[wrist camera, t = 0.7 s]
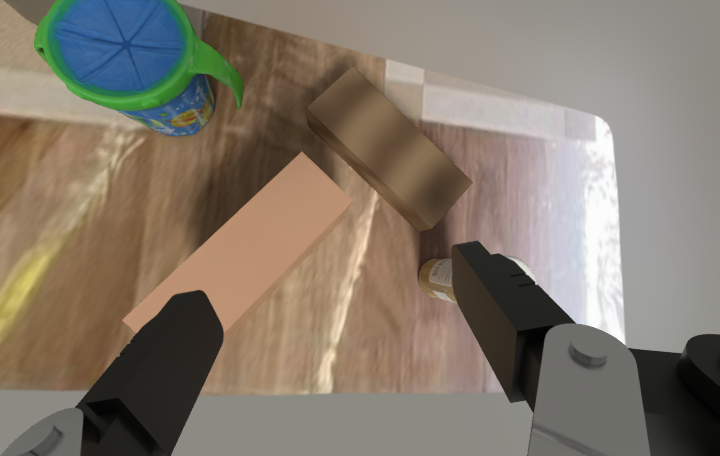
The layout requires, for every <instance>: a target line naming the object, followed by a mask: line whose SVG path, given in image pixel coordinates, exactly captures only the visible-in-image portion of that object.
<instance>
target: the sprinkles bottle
mask: <svg viewBox="0 0 720 456" xmlns="http://www.w3.org/2000/svg"><path fill="white" fill-rule="evenodd" d="M505 257H507V258H509V259H511V260H513V261H515V262H516V263H517V264H518V265H519V266H520V267H521V268H522V269H523V270H524V271H525V272H526V275H529V276H530V277H531V278H532V279H533V280H534V281H535V284H536V285H537V283H536V278H535V276H534V274H533V272H532V270H531V269H530V267H529V266H528V265H527V264H526V263H525V262H523V261H522V260H520V259H518V258H516V257H512V256H505ZM419 284H420V286H421V288H422V290H423V291H424V292H425V293H426V294H428V295H429V296H431V297H434V298H441V299H443V300H447V301H450V302H454V303H457V301H456V298H455V295H454V291H453V281H452V258H450V259H437V258H435V259H431V260H429V261H427V262H426V263H425V264H424V265H423V266H422V268H421V269H420V272H419Z"/></svg>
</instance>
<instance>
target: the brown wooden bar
mask: <svg viewBox="0 0 720 456" xmlns="http://www.w3.org/2000/svg"><path fill="white" fill-rule="evenodd" d="M307 120H308V126H309V127H310V128H311V129H312V130H313V131H314V132H315V133H316V134H317V135H318V136H319V137H320V138H321V139H322V140H323V141H324V142H326V143H327V144H328V145H329V146H330V147H331V148H332V149H333V150H334V151H335V152H336V153H337V154H338V155H339V156H340V157H341V158H342V159H343V160H344V161H345V162H346V163H347V164H348V165H350V166H351V167H352V168H353V169H354V170H355V171H356V172H357V173H358V174H359V175H360V176H361V177H362V178H363V179H364V180H365V181H366V182H367V183H368V184H369V185H370V186H371V187H372V188H374V189H375V190H376V191H377V192H378V193H379V194H380V195H381V196H382V197H383V198H384V199H385V200H386V201H387V202H388V203H389V204H390V205H391V206H392V207H393V208H394V209H395V210H396V211H397V212H399V213H400V214H401V215H402V216H403V217H404V218H405V219H406V220H407V221H408V222H409V223H410V224H411V225H412V226H413V227H414V228H415V229H416V230H417V231H418V232H422V231H426V230H429V229H432V228H433V227H434V226H435V225H436V224H437V223H438V221H439V220H440V219H441V218H442V217H443V216H444V215H445V214H446V212H447V211H448V210H449V209H450V208H451V207H452V206H453V205H454V203H455V202H456V201H457V200H458V199H459V198H460V197H461V196H462V194H463V193H464V192H465V191H466V190H467V189H468V188H469V186H470V185H471V184H472V183H473V182H472V181H471V180H470V179H469V178H468V177H467V176H466V175H465V174H464V173H463V172H462V171H461V170H460V169H459V168H458V167H457V166H456V165H455V164H454V163H453V162H452V161H451V160H450V159H448V158H447V157H446V156H445V155H444V154H443V153H442V152H441V151H440V150H439V149H438V148H437V147H436V146H435V145H434V144H433V143H432V142H431V141H430V140H429V139H428V138H427V137H426V136H425V135H424V134H423V133H422V132H421V131H420V130H419V129H418V128H416V127H415V126H414V125H413V124H412V123H411V122H410V121H409V120H408V119H407V118H406V117H405V116H404V115H403V114H402V113H401V112H400V111H399V110H398V109H397V108H396V107H395V106H394V105H393V104H392V103H391V102H390V101H389V100H388V99H387V98H386V97H384V96H383V95H382V94H381V93H380V92H379V91H378V90H377V89H376V88H375V87H374V86H373V85H372V84H371V83H370V82H369V81H368V80H367V79H366V78H365V77H364V76H363V75H362V74H361V73H360V72H359V71H358V70H357V69H356V68H355V67H354V66H352V67H351V68H350V69H349V70H348V71H347V72H345V73H344V74H343V75H342V76H341V77H340V78H339V79H338V80H337V81H336V82H334V83H333V84H332V85H331V86H330V87H329V88H328V89H327V90H326V91H324V92H323V93H322V94H321V95H320V96H319V97H318V98H317V99H316V100H315V101H313V102H312V103H311V104H310V105H309V106H308V107H307Z"/></svg>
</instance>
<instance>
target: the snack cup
mask: <svg viewBox="0 0 720 456" xmlns="http://www.w3.org/2000/svg"><path fill="white" fill-rule="evenodd" d="M34 48H35V50H36V51H37V52H38V54H39V55H40V56H41V57H42V58H43V59H44V60H45V61H46V62H47V63H48V65H49V66H50V67H51V68H52V70H53V71H54V72H55V74H56V75H57V76H58V77H59V78H60V79H61V80H62V81H63V82H64V83H65V84H66V85H67V88H68V89H69V90H70V91H71V92H73V93H74V94H76V95H77V96H79V97H80V98H82V99H85V100H88V101H92V102H94V103H96V104H98V105H101V106H104V107H107V108H111V109H114V110H117V111H118V112H120V113H122V114H124V115H126V116H127V117H129V118H131V119H133V120H135V121H137V122H139V123H141V124H143V125H146V126H147V127H149V128H151V129H152V130H155V131H157V132H160V133H163V134H165V135H169V136H182V135H194V134H196V133H197V132H198V131H199V130H200V129H201V128H203V127H204V126H205V125H206V124H207V122H208V121H209V120H210V118H211V117H212V114H213V113H214V108H215V104H214V96H213V92H212V90H211V87H210V84H209V80H208V77H207V74H208V75H211V76H213V77H214V78H215V79H217V80H218V81H220V82H222V83H223V84H225V85H226V86H228V87H229V88H231V89H232V90H233V92H234V96H235V100H236V103H237V108H238V109H240V108H241V105H242V97H243V79H242V78H241V76H240V75H239V74H238V72H237V71H236V70H235V69H234V67H233V66H232V65H231V64H230V63H229V62H228V61H227V60H226V59H225V58H224V57H223V56H222V55H220V54H219V53H218V52H217V51H216V50H215V49H213V48H212V47H211V46H209V45H208V44H206V43H205V42H203V41H202V40H200V39H199V38H198V37H197V36H196V33H195V30H194V28H193V26H192V24H191V22H190V20H189V18H188V16H187V15H186V13H185V11H184V10H183V8H182V7H181V6H180V5H179V4H178V3H177V1H176V0H56V1H55V2H54V4H53V5H52V7H51V8H50V10H49V12H48V14H47V15H46V16H44V17H43V18H42V19H41V21H40V23H39V25H38V28H37V31H36V34H35V40H34Z"/></svg>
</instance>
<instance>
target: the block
mask: <svg viewBox="0 0 720 456" xmlns="http://www.w3.org/2000/svg"><path fill="white" fill-rule="evenodd" d="M352 202H353V200H352V199H351V198H350V197H349V196H348V195H347V194H346V193H345V192H344V191H343V190H342V189H341V188H340V187H339V186H338V185H336V184H335V183H334V182H333V181H332V180H331V179H330V178H329V177H328V176H327V175H326V174H325V173H324V172H323V171H322V170H321V169H320V168H319V167H318V166H317V165H316V164H315V163H313V162H312V161H311V160H310V159H309V158H308V157H307V156H306V155H305V154H304V153H303V152H301V153H300V154H299V155H298V156H296V157H295V158H294V159H293V160H292V161H291V162H290V163H289V164H288V165H287V166H286V167H285V168H284V169H283V170H282V171H280V172H279V173H278V174H277V175H276V176H275V177H274V178H273V179H272V180H271V181H270V182H269V183H268V184H267V185H266V186H265V187H263V188H262V189H261V190H260V191H259V192H258V193H257V194H256V195H255V196H254V197H253V198H252V199H251V200H250V201H249V202H247V203H246V204H245V205H244V206H243V207H242V208H241V209H240V210H239V211H238V212H237V213H236V214H235V215H234V216H233V217H231V218H230V219H229V220H228V221H227V222H226V223H225V224H224V225H223V226H222V227H221V228H220V229H219V230H218V231H217V232H215V233H214V234H213V235H212V236H211V237H210V238H209V239H208V240H207V241H206V242H205V243H204V244H203V245H202V246H201V247H200V248H198V249H197V250H196V251H195V252H194V253H193V254H192V255H191V256H190V257H189V258H188V259H187V260H186V261H185V262H184V263H182V264H181V265H180V266H179V267H178V268H177V269H176V270H175V271H174V272H173V273H172V274H171V275H170V276H169V277H168V278H166V279H165V280H164V281H163V282H162V283H161V284H160V285H159V286H158V287H157V288H156V289H155V290H154V291H153V292H152V293H150V294H149V295H148V296H147V297H146V298H145V299H144V300H143V301H142V302H141V303H140V304H139V305H138V306H137V307H136V308H135V309H133V310H132V311H131V312H130V313H129V314H128V315H127V316H126V317H125V318H124V319H123V321H124V322H125V323H126V324H127V325H128V326H129V327H130V328H131V329H132V330H133V331H135V332H136V333H137V332H138V331H139V330H140V329H141V328H142V326H144V325H145V324H146V323H147V322H149V321H150V320H151V319H152V318H154V317H155V316H156V315H157V314H158V313H159V312H160V310H161V309H162V308H163V307H164V305H165V304H166V303H167V302H168V301H169V299H170V298H171V297H172V296H173V295H175V294H178V293H184V292H190V291H195V290H202V291H204V292H205V293H206V295H207V297H208V299H209V301H210V302H211V304H212V306H213V308H214V310H215V312H216V314H217V316H218V318H219V320H220V322H221V324H222V326H223V331H224V339H223V342H224V341H225V340H226V339H227V338H229V337H230V336H231V335H232V334H233V333H235V332H236V331H237V330H238V329H239V328H240V327H241V326H242V325H243V324H244V323H245V321H246V320H247V319H248V318H249V317H250V316H251V315H252V314H253V313H254V312H255V311H256V310H257V309H258V308H259V307H260V306H261V305H262V304H263V303H264V302H265V301H266V300H267V299H268V298H269V297H270V296H271V295H272V294H273V293H274V292H275V290H276V289H277V288H278V287H279V286H280V285H281V284H282V283H283V282H284V281H285V280H286V279H287V278H288V277H289V276H290V275H291V274H292V273H293V272H294V271H295V270H296V269H297V268H298V267H299V266H300V265H301V264H302V263H303V262H304V260H305V259H306V258H307V257H308V256H309V255H310V254H311V253H312V252H313V251H314V250H315V249H316V248H317V247H318V246H319V245H320V244H321V243H322V242H323V241H324V240H325V239H326V238H327V237H328V236H329V235H330V234H331V233H332V232H333V231H334V229H335V228H336V227H337V226H338V225H339V224H340V223H341V222H342V220H343V219H344V217H345V215H346V213H347V211H348V209H349V208H350V206H351V204H352Z"/></svg>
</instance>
